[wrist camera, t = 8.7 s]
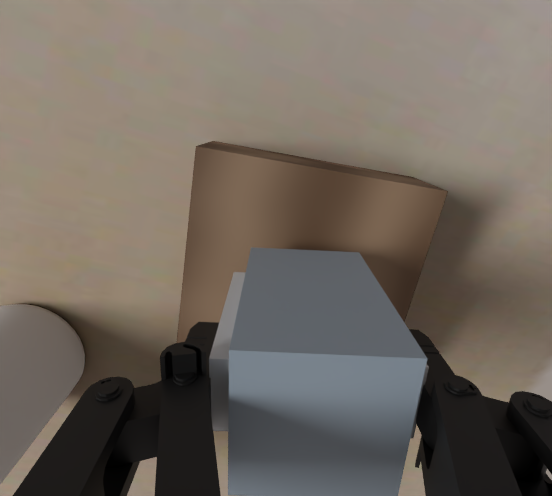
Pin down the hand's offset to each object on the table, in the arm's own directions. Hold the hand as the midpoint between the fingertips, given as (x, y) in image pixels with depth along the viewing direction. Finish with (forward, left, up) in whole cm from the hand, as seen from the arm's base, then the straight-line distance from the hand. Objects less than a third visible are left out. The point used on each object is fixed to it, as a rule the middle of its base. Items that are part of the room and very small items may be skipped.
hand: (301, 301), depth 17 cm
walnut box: (0, 0, -7) cm, 7 cm away
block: (0, 0, 0) cm, 0 cm away
